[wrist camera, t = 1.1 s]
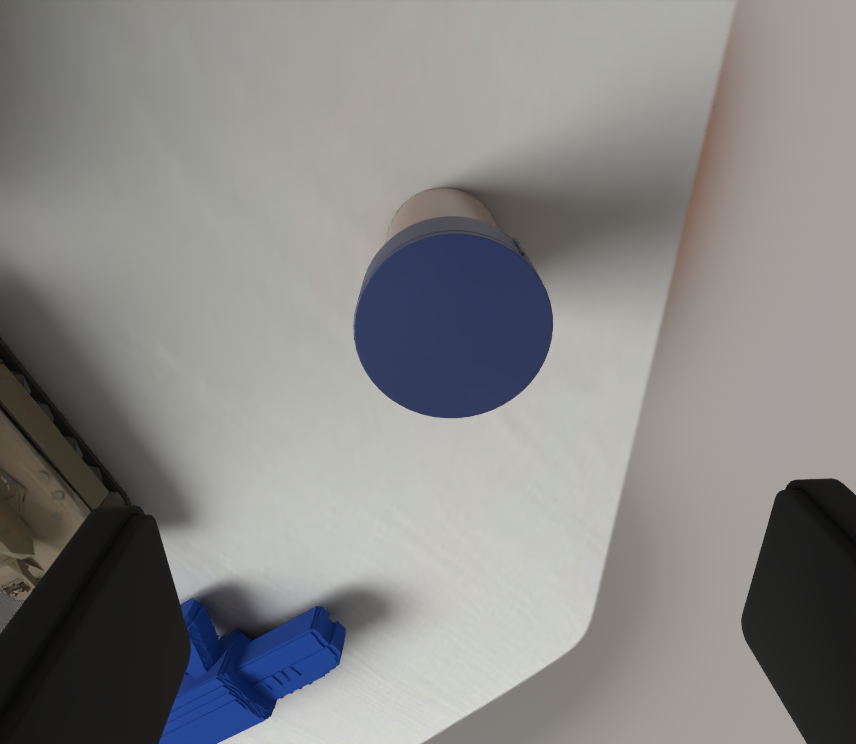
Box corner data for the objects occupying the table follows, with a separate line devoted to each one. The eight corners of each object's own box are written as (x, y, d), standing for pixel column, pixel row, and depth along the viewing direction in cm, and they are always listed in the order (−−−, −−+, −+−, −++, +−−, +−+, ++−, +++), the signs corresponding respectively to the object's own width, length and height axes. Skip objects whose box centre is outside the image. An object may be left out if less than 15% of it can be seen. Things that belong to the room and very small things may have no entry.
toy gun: (276, 539, 37) (374, 640, 40) (52, 671, 43) (152, 749, 46) (254, 589, 33) (365, 696, 36) (12, 726, 39) (124, 808, 42)
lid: (445, 172, 19) (449, 185, 17) (578, 296, 21) (597, 323, 19) (324, 313, 21) (313, 341, 19) (454, 414, 23) (458, 450, 21)
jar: (438, 162, 27) (447, 208, 18) (522, 240, 29) (569, 320, 19) (363, 250, 29) (336, 333, 20) (446, 319, 30) (456, 426, 21)
